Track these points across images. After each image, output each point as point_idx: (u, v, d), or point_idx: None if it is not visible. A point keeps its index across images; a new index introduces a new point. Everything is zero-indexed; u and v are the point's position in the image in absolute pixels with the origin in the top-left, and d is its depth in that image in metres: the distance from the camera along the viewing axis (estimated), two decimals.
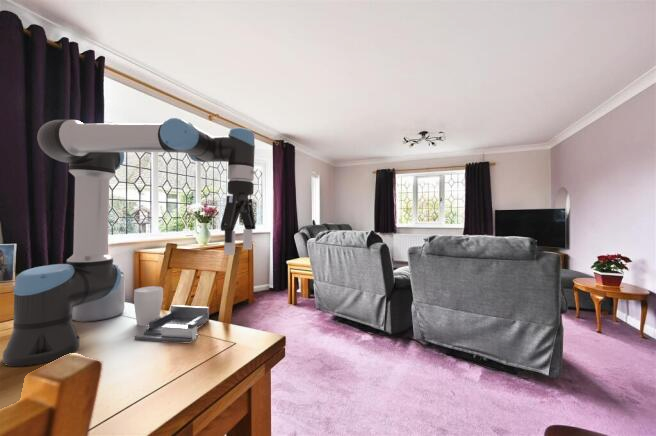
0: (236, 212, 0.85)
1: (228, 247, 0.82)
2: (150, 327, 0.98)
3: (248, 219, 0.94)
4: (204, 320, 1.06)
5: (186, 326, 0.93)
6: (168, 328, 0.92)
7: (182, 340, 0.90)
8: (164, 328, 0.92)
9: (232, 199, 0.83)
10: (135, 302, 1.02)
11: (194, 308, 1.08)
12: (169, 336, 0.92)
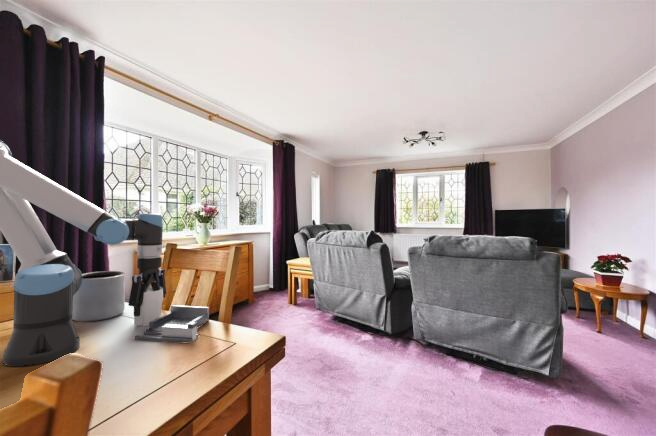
0: (143, 288, 1.02)
1: (137, 319, 1.01)
2: (150, 327, 0.98)
3: (157, 288, 1.09)
4: (204, 320, 1.06)
5: (186, 326, 0.93)
6: (168, 328, 0.92)
7: (182, 340, 0.90)
8: (164, 328, 0.92)
9: (136, 280, 0.99)
10: None
11: (194, 308, 1.08)
12: (169, 336, 0.92)
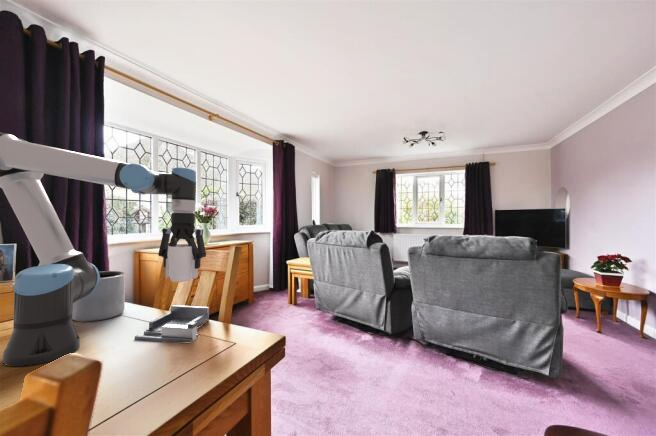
0: None
1: None
2: (150, 327, 0.98)
3: None
4: (204, 320, 1.06)
5: (186, 326, 0.93)
6: (168, 328, 0.92)
7: (182, 340, 0.90)
8: (164, 328, 0.92)
9: None
10: None
11: (194, 308, 1.08)
12: (169, 336, 0.92)
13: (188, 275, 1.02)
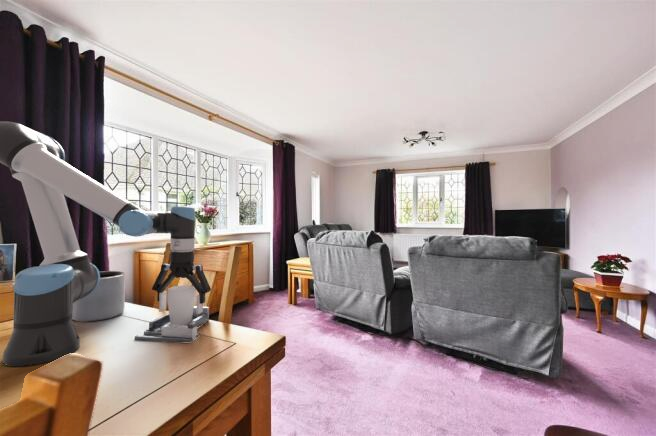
0: None
1: None
2: (150, 327, 0.98)
3: None
4: (204, 320, 1.06)
5: (186, 326, 0.93)
6: (168, 328, 0.92)
7: (182, 340, 0.90)
8: (164, 328, 0.92)
9: None
10: None
11: (194, 308, 1.08)
12: (169, 336, 0.92)
13: (187, 318, 1.02)
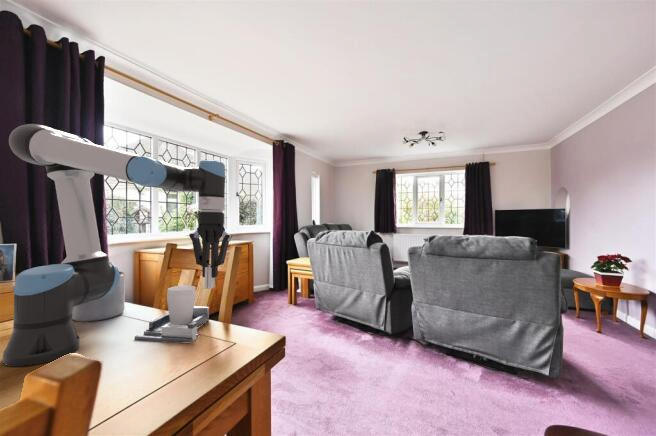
0: None
1: None
2: (150, 327, 0.98)
3: None
4: (204, 320, 1.06)
5: (186, 326, 0.93)
6: (168, 328, 0.92)
7: (182, 340, 0.90)
8: (164, 328, 0.92)
9: None
10: None
11: (194, 308, 1.08)
12: (169, 336, 0.92)
13: (187, 318, 1.02)
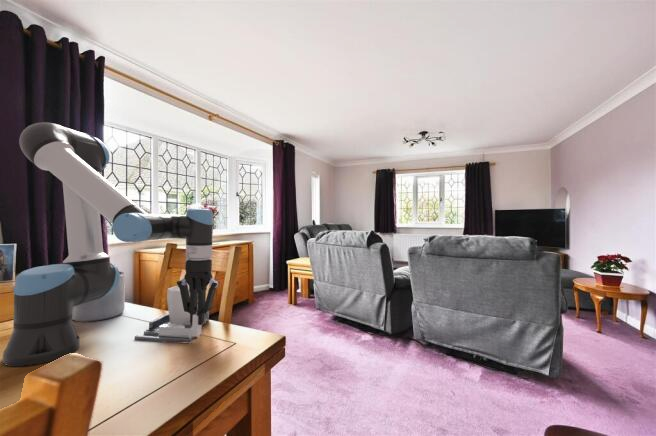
0: None
1: None
2: (150, 327, 0.98)
3: None
4: (204, 320, 1.06)
5: (183, 326, 0.93)
6: (165, 328, 0.92)
7: (182, 340, 0.90)
8: (161, 328, 0.92)
9: None
10: None
11: None
12: (166, 336, 0.92)
13: (187, 318, 1.02)
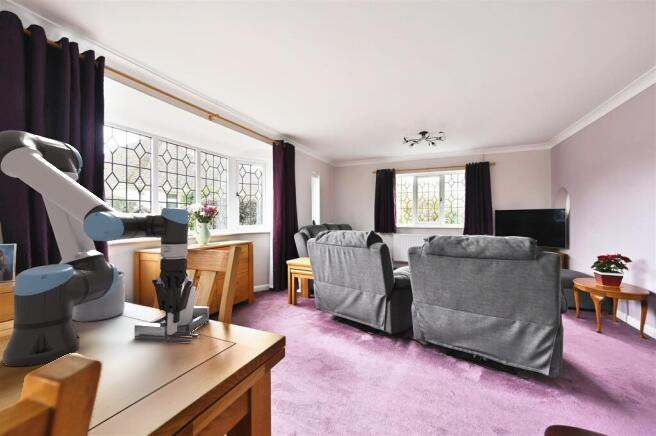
0: None
1: None
2: None
3: None
4: (204, 320, 1.06)
5: (159, 324, 0.93)
6: (141, 326, 0.93)
7: (182, 340, 0.90)
8: (137, 326, 0.93)
9: None
10: None
11: (194, 308, 1.08)
12: (142, 334, 0.93)
13: (187, 318, 1.02)
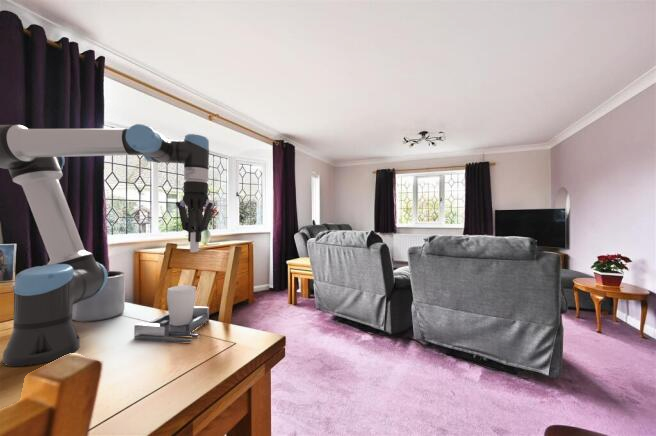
0: None
1: None
2: None
3: None
4: (204, 320, 1.06)
5: (159, 324, 0.93)
6: (141, 326, 0.93)
7: (182, 340, 0.90)
8: (137, 326, 0.93)
9: None
10: None
11: (194, 308, 1.08)
12: (141, 334, 0.93)
13: (187, 318, 1.02)
